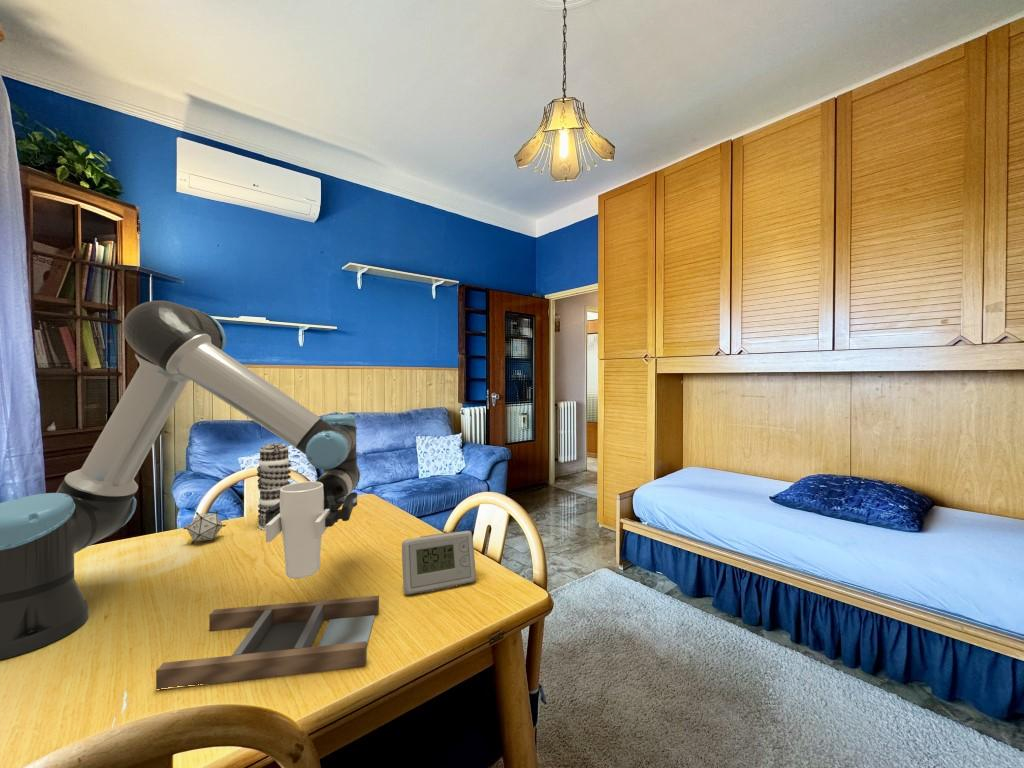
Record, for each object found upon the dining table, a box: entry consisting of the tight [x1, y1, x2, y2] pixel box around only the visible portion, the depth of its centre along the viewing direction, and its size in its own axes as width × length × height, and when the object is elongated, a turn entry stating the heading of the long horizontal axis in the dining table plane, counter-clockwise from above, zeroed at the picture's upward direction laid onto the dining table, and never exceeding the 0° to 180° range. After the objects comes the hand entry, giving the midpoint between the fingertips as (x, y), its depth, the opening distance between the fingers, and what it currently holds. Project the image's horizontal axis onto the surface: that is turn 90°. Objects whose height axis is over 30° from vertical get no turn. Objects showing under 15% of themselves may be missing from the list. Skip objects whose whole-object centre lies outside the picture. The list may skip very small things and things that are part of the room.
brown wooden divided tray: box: [155, 595, 380, 690], centre depth 69 cm, size 29×16×3 cm, turn 100°
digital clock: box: [401, 530, 477, 595], centre depth 90 cm, size 16×9×11 cm, turn 101°
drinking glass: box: [280, 481, 324, 580], centre depth 70 cm, size 7×7×15 cm
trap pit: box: [231, 605, 324, 656], centre depth 69 cm, size 10×12×3 cm
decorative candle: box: [256, 442, 292, 531], centre depth 124 cm, size 9×9×25 cm
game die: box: [182, 509, 227, 545], centre depth 112 cm, size 9×8×10 cm
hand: (293, 531), depth 65 cm, fingers closed on drinking glass, 6 cm apart
